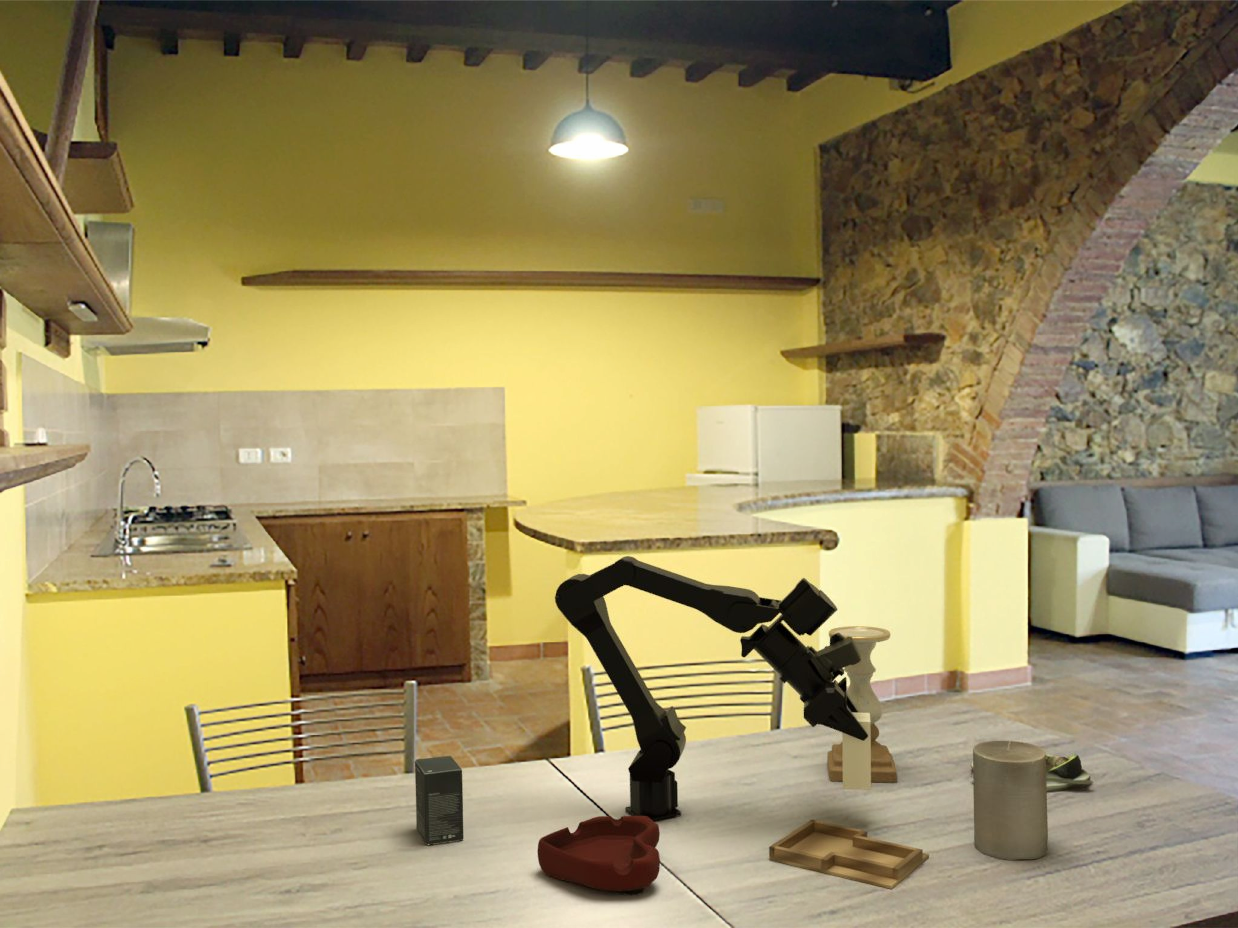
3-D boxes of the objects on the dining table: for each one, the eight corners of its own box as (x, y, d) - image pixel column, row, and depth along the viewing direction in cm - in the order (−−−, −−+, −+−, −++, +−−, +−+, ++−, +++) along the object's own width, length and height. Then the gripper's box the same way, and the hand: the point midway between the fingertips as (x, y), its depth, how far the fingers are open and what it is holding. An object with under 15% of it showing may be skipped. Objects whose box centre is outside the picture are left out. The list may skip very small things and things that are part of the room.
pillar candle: (994, 829, 166) (992, 726, 165) (1060, 846, 159) (1058, 739, 158) (960, 849, 159) (958, 742, 158) (1028, 867, 152) (1026, 755, 151)
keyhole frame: (769, 859, 156) (769, 846, 156) (811, 831, 166) (811, 819, 166) (891, 888, 146) (891, 874, 146) (929, 857, 156) (928, 843, 156)
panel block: (842, 788, 167) (842, 720, 167) (842, 777, 172) (842, 711, 172) (870, 789, 166) (870, 721, 166) (870, 779, 171) (869, 712, 171)
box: (464, 840, 166) (462, 768, 165) (425, 846, 164) (423, 773, 163) (453, 823, 173) (451, 753, 173) (415, 828, 171) (413, 758, 171)
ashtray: (544, 849, 162) (543, 814, 162) (660, 848, 162) (659, 813, 162) (531, 902, 145) (529, 863, 144) (660, 901, 144) (659, 862, 144)
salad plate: (994, 802, 178) (994, 773, 178) (944, 768, 196) (943, 741, 196) (1109, 793, 181) (1109, 764, 181) (1049, 760, 199) (1049, 733, 199)
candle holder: (826, 761, 200) (824, 625, 199) (891, 762, 198) (889, 625, 197) (829, 781, 189) (827, 637, 188) (897, 782, 187) (896, 637, 186)
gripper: (826, 631, 160) (908, 712, 158) (828, 608, 178) (902, 681, 176) (770, 685, 162) (851, 766, 160) (777, 657, 180) (850, 730, 178)
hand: (865, 733), depth 169 cm, fingers closed on panel block, 5 cm apart
